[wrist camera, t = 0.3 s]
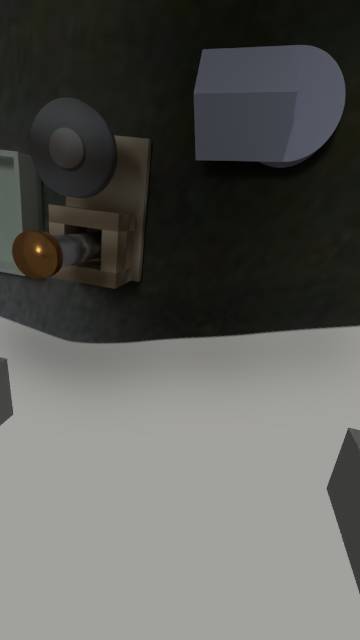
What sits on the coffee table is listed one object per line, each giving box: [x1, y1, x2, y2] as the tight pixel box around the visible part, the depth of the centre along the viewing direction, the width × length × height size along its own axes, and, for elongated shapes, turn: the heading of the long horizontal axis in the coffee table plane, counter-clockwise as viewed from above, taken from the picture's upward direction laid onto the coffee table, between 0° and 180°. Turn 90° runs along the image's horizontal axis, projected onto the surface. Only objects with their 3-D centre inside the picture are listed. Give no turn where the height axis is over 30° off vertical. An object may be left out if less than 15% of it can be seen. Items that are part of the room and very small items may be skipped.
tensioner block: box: [30, 98, 152, 289], centre depth 32 cm, size 17×10×9 cm, turn 173°
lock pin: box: [12, 230, 102, 279], centre depth 31 cm, size 4×4×13 cm
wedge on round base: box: [194, 45, 345, 168], centre depth 27 cm, size 9×7×13 cm
